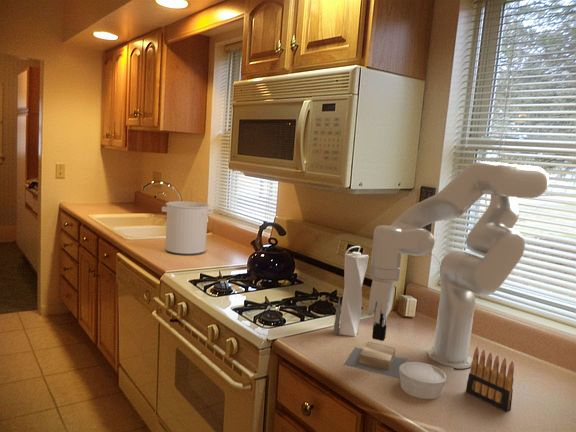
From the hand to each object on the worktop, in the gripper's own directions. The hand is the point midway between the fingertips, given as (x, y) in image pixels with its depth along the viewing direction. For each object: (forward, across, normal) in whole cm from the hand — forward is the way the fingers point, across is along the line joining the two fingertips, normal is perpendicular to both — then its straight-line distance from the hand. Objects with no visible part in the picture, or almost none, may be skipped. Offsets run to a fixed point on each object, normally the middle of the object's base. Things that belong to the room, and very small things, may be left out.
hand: (378, 338), depth 127 cm
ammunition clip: (+9, +3, +28) cm, 30 cm away
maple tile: (+6, +1, 0) cm, 6 cm away
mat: (+8, -2, 0) cm, 8 cm away
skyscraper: (+8, -19, -13) cm, 24 cm away
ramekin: (+8, +7, +13) cm, 17 cm away
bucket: (+8, -81, -116) cm, 141 cm away
